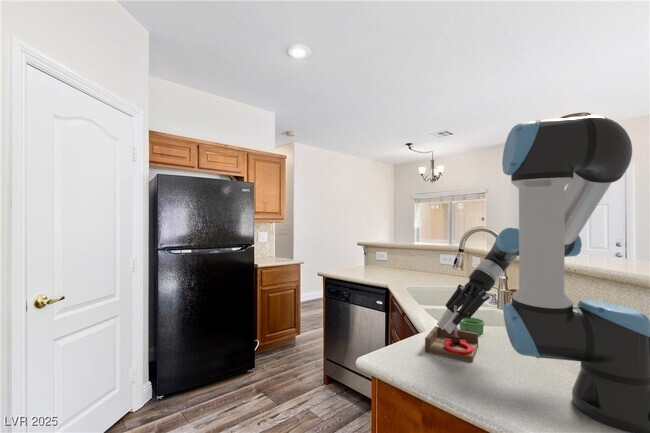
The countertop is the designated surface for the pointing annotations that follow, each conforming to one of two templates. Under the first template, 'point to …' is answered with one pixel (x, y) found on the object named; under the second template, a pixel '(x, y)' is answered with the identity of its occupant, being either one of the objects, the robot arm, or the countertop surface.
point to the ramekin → (472, 325)
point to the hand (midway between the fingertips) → (443, 328)
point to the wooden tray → (437, 341)
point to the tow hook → (457, 341)
